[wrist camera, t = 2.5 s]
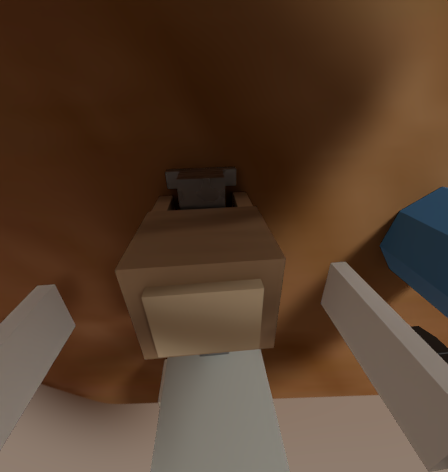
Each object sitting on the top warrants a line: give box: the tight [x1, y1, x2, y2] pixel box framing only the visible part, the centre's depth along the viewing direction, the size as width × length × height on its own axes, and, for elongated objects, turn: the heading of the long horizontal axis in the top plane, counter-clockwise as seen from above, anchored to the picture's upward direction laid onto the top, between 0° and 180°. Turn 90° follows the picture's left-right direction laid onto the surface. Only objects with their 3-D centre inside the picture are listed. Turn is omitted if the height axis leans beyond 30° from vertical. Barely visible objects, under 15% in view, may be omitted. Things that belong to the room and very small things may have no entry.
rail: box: [165, 167, 236, 357], centre depth 19 cm, size 18×5×3 cm, turn 2°
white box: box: [150, 349, 290, 472], centre depth 22 cm, size 8×10×12 cm
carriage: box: [115, 192, 286, 360], centre depth 14 cm, size 6×7×10 cm
